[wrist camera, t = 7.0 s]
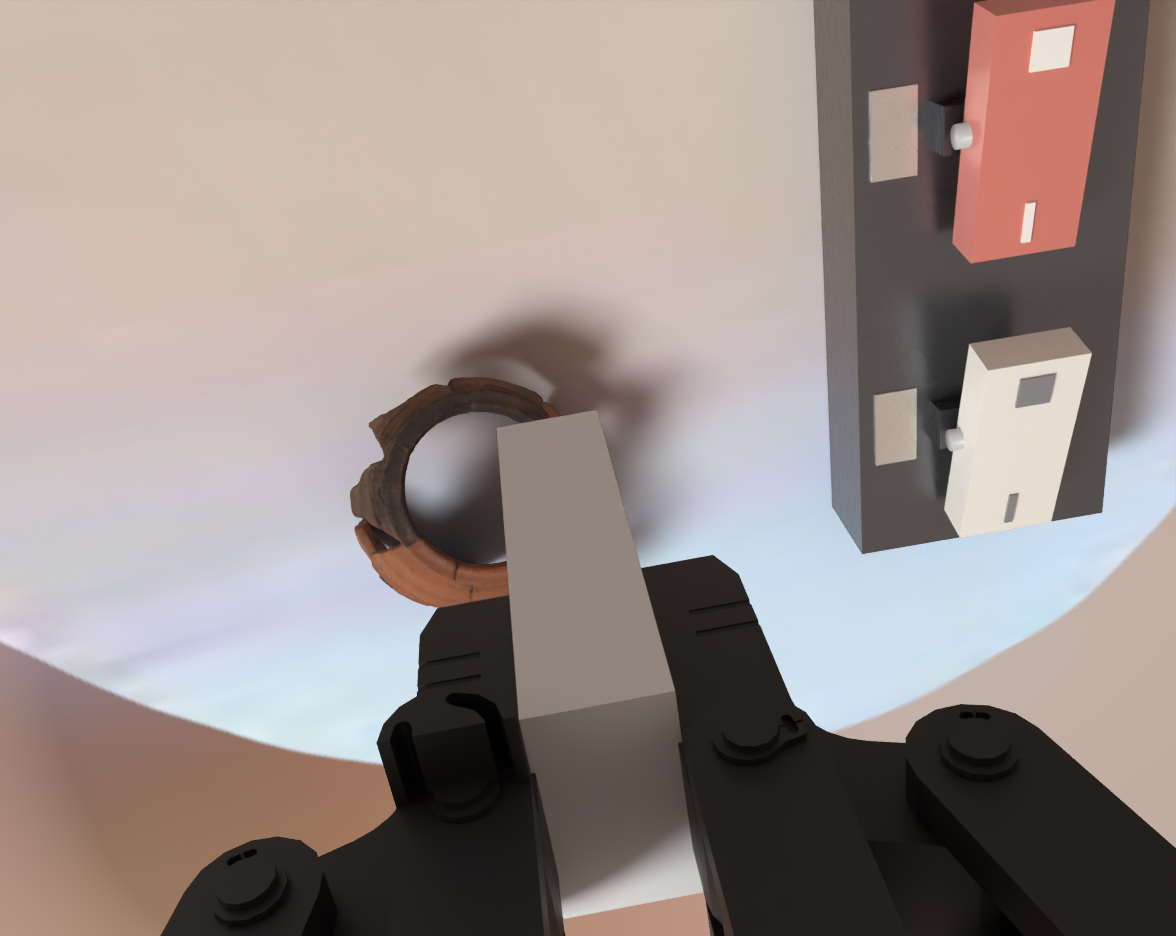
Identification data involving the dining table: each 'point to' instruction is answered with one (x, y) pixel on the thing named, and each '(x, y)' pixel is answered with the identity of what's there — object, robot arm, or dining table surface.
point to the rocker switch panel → (946, 261)
